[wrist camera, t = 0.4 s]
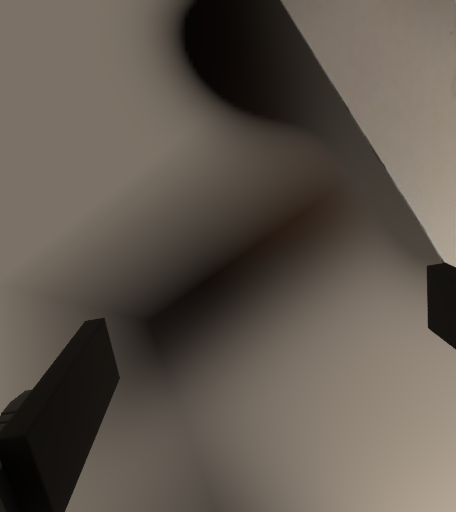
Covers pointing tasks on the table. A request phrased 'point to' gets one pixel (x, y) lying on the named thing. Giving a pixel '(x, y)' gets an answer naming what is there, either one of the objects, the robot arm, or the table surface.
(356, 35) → the table surface
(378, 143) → the table surface
